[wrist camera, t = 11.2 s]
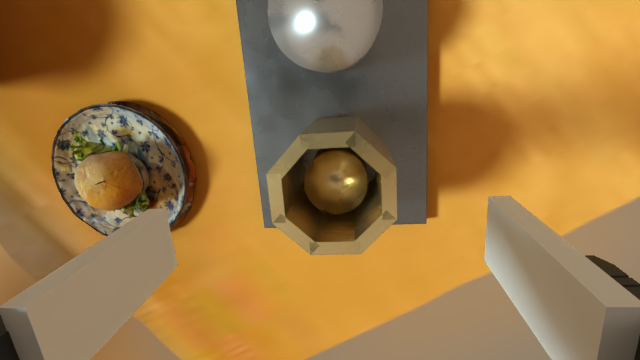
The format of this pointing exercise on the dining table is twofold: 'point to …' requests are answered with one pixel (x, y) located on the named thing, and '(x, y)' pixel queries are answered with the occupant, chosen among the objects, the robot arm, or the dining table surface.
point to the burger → (121, 166)
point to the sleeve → (326, 228)
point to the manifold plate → (339, 92)
